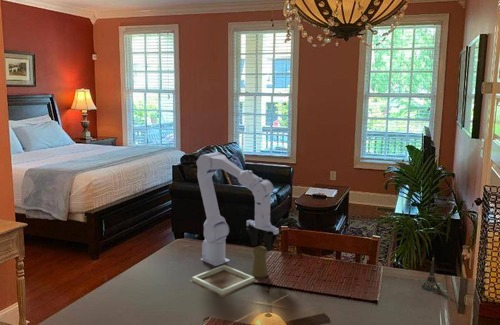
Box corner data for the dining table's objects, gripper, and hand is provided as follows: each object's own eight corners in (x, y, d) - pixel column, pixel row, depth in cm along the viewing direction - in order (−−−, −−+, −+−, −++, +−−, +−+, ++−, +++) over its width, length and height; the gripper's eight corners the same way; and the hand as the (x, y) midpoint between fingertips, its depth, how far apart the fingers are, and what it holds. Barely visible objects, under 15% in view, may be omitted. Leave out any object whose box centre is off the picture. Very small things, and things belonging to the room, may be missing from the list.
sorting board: (188, 281, 169) (188, 280, 169) (224, 267, 182) (224, 266, 182) (221, 298, 157) (221, 297, 157) (258, 282, 170) (258, 281, 170)
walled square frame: (192, 280, 169) (192, 276, 169) (224, 268, 181) (224, 264, 180) (222, 295, 158) (222, 291, 158) (254, 281, 170) (254, 277, 169)
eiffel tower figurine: (451, 301, 158) (455, 264, 155) (420, 298, 160) (423, 261, 157) (442, 282, 172) (445, 248, 170) (413, 280, 174) (416, 246, 172)
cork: (268, 271, 179) (268, 244, 177) (267, 278, 173) (267, 250, 171) (252, 271, 179) (252, 243, 177) (250, 277, 173) (251, 249, 171)
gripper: (284, 215, 170) (283, 250, 173) (255, 207, 180) (255, 240, 183) (271, 219, 165) (271, 255, 168) (242, 210, 175) (242, 245, 178)
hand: (261, 248), depth 175 cm, fingers open, 7 cm apart
